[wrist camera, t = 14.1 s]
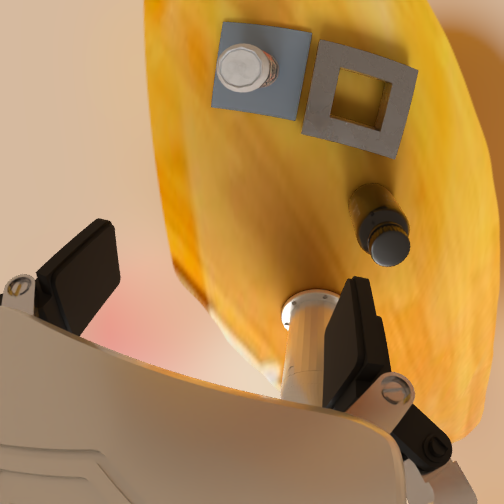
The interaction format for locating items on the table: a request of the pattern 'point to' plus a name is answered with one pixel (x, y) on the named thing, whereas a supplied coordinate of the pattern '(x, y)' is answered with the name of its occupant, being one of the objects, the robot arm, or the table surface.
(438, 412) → the table surface
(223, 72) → the beer can
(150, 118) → the table surface
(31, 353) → the robot arm
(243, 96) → the mat
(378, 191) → the supplement bottle
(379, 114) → the gray square frame
